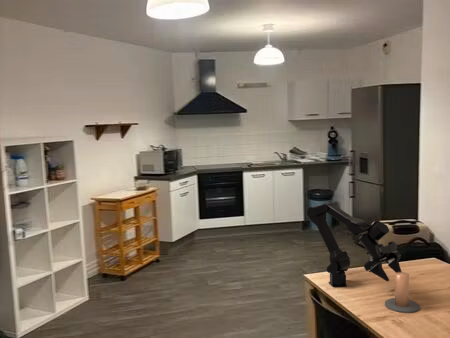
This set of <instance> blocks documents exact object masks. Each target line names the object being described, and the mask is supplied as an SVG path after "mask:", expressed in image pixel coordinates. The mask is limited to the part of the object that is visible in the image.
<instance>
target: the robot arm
mask: <svg viewBox="0 0 450 338" xmlns="http://www.w3.org/2000/svg"><path fill="white" fill-rule="evenodd" d="M327 214H328V215H330V216H331V217H333V218H334V219H336V220H337V221H339V222H340V223H342V224H343V225H344V226H345V227H346V229H347V231H349V233H351V235H353V236H357V237H356V244H362V245H363V247H364V249H365V250H366V255H367V256H369V255H370V257H371V258H370V259H368V260H367V261H366V262H365V263H364V264H363V268H364V270H365V271H366V272H369V273H372V274H373V275H375V276H377V277H379V278H381V280H384V281H386V282H389V281H390V279H389V277H388V275H387V273H386V272H385V270H384V269H383V263H386V264H387V266H388V267H389V268H390V269H391V270H392V271H393V272H394V273H396V272H403V271H402V269H401V266H400V265H401V264H400V259H401V256H402V254H401V253H400V251H399V250H397V248H398V244H397V243H396V242H395V241H389V242H387V245H384V244H382V243H379V242H378V241H380V240H382V238H384V237H385V236H386V235H387V234H388V233H389V232H390V229H389V227H388V225H387V224H385V223H384V222H382V221H380V220H379V219H376V220H375V221H374V222H373V223H372V224H370V223H368V222H367V221H365V220H364V219H361V218H358V217H354V216H352V215H350V214H348V213H347V212H346V211H344V210H343V209H341V208H340V207H338V206H336V205H335V204H334V203H333V202H326V203H323V204H322V205H314V206H310V207H308V208H307V211H306V215H307V218H308V219H309V220H310V221H311V223H312V224H314V225H316V227H317V230H318V231H319V232H318V233H319V234H320V236H321V238H322V240H323V242H324V245H325V246H326V248H327V250H328V253H329V262H330V264H329V265H328V266H327V267H326V271H327V273H329V281H328V282H327V283H328V284H329V285H331V287H333V288H341V287H347V286H348V285H347V275H346V272H347V271H348V269H349V268H350V266H351V260H350V259H351V258H350V257H349V255H348V252H347V251H346V250H344V251H343V250H341V248H340V247H339V244H338V243H337V240H336V239H335V237H334V234H333V231H332V230H331V228H330V227H329V224H328V222H327V218H328V217H327ZM359 235H361V236H359Z"/></svg>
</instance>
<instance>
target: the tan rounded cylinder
mask: <svg viewBox="0 0 450 338" xmlns="http://www.w3.org/2000/svg"><path fill="white" fill-rule="evenodd" d="M394 298H395V305H397V306H401V307H407V306H409V300H410V273H407V272H405V271H404V272H403V271H402V272H394Z"/></svg>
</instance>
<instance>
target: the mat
mask: <svg viewBox="0 0 450 338" xmlns="http://www.w3.org/2000/svg"><path fill="white" fill-rule="evenodd" d="M384 305H385V307H386V308H387V309H388V310H390V311H393V312H396V313H403V314H413V313H417V312H419V311H420V307H421V306H420V304H419V303H418V302H416V301H414V300H412V299H409V306H407V307H401V306H397V305H395V297H393V298H389V299H386V300H385V301H384Z"/></svg>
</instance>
